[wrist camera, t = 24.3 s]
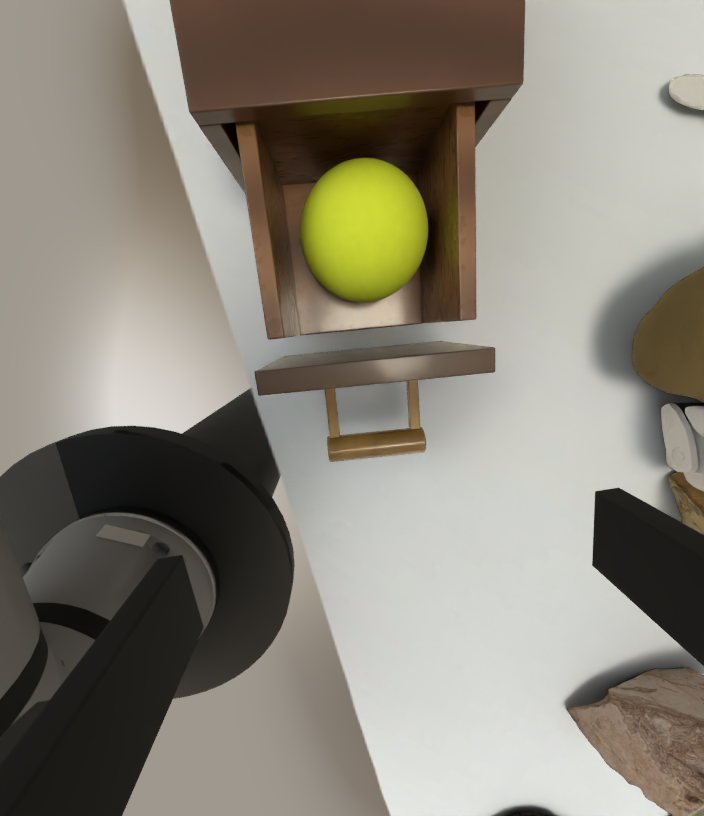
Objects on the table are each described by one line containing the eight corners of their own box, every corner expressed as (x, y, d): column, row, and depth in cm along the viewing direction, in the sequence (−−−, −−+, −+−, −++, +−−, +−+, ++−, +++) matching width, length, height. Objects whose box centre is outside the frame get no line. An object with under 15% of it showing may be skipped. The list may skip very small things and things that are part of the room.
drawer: (443, 425, 26) (495, 472, 17) (295, 440, 26) (274, 495, 17) (435, 165, 22) (497, 59, 13) (259, 181, 22) (207, 84, 13)
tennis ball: (342, 330, 17) (296, 162, 13) (310, 308, 23) (272, 189, 19) (461, 286, 18) (447, 123, 14) (401, 277, 24) (381, 159, 20)
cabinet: (440, 194, 23) (524, 83, 13) (257, 211, 23) (188, 112, 13) (433, -62, 20) (536, -494, 10) (220, -46, 20) (86, -467, 9)
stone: (721, 633, 34) (740, 684, 26) (805, 742, 30) (856, 838, 22) (575, 660, 41) (558, 706, 34) (627, 749, 37) (620, 823, 30)
